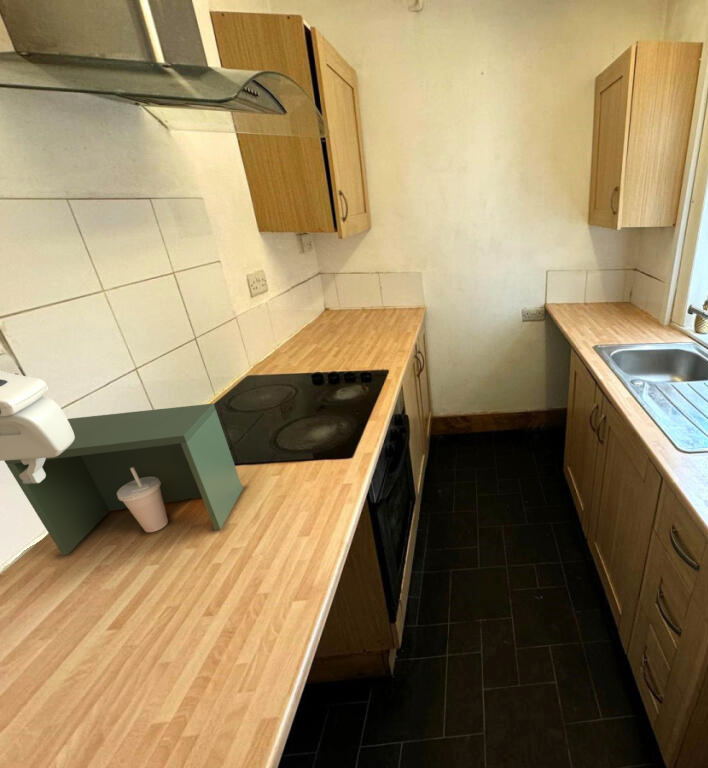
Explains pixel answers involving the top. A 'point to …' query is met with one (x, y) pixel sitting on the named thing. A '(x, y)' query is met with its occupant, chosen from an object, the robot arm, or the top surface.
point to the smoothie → (144, 501)
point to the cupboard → (148, 457)
